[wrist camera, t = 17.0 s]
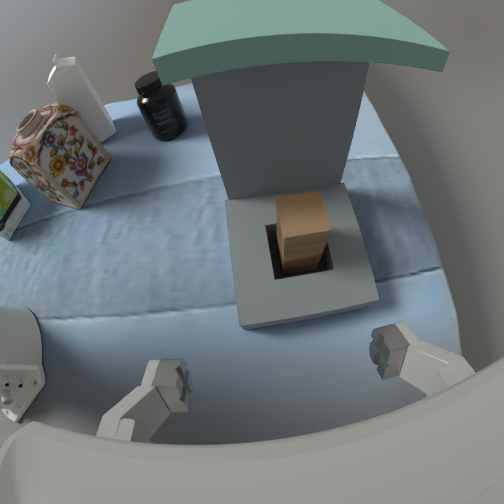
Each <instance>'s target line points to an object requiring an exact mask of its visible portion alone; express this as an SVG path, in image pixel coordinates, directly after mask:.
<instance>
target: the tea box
mask: <svg viewBox="0 0 504 504" xmlns="http://www.w3.org/2000/svg"><path fill="white" fill-rule="evenodd" d="M30 206H31V205H30V203H29V202H28V200H27V199H26V198H25V196H24V195H23V194H22V193H21V191H20V190H19V189H18V187H17V186H16V185H15V184H14V183H13V182H12V181H11V180H10V179H9V178H8V177H7V176H6V175H5V174H4V173H3V172H1V171H0V235H1V236H2V237H4V238H5V239H7V240H8V241H9V240H10V238H11V236H12V235H13V233H14V232H15V230H16V228H17V227H18V225H19V223H20V222H21V220H22V219H23V217H24V215H25V214H26V212H27V211H28V209H29V208H30Z"/></svg>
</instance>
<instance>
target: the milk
mask: <svg viewBox="0 0 504 504" xmlns="http://www.w3.org/2000/svg"><path fill="white" fill-rule="evenodd" d="M53 63H54V65H55V66H54V68H53V70H52V71H51V73H50V75H49V79H48V83H47V85H48V87H49V88H50V90H51V91H52V93H53V94H54V95H55V97H56V98H57V100H58V101H59V103H61V104H63V105H66V106H69V107H71V108H73V109H75V110H77V111H78V112H79V113H80V115H81V116H82V118H83V119H84V120H85V122H86V123H87V125H88V126H89V127H90V129H91V130H92V131H93V133H94V134H95V135H96V137H97V138H98V140H99V141H100V143H101V142H103V141H104V140H106V139H108V138H109V137H111V136H112V135H114V134H115V133H116V131H115V127H114V124H113V120H112V118H111V117H110V115H109V114H108V112H107V110H106V109H105V107H104V105H103V104H102V102H101V100H100V98H99V97H98V95H97V93H96V92H95V90H94V88H93V87H92V85H91V83H90V81H89V80H88V78H87V76H86V75H85V73H84V71H83V69H82V67H81V65H80V64H79V62H78V60H77V58H76V57H69V58H62V59H59V58H58V56H57V55H56V54H55V57H54V60H53Z"/></svg>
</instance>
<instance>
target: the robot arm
mask: <svg viewBox="0 0 504 504" xmlns="http://www.w3.org/2000/svg"><path fill="white" fill-rule="evenodd" d="M371 337H372V338H373V341H372V342H371V343H370V347H369V352H370V357H371V360H372V362H373V363H374V364H376V365H378V367H377V371H378V373H379V375H380V377H381V379H382V380H385V379H389V378H392V377H395V376H398V375H399V377H401V378H403V379H404V380H406V381H407V382H409V383H410V384H412V385H413V386H415V387H417V388H418V389H420V390H421V391H423V392H424V393H426V394H427V396H426V398H424V399H422V400H419V401H417V402H414V403H412V404H409V405H407V406H404V407H402V408H399V409H396V410H393V411H391V412H388V413H385V414H382V415H379V416H376V417H373V418H370V419H366V420H363V421H360V422H356V423H353V424H349V425H345V426H341V427H338V428H333V429H329V430H325V431H320V432H316V433H311V434H306V435H300V436H295V437H289V438H282V439H275V440H267V441H259V442H248V443H236V444H218V445H173V444H155V443H152V442H151V441H150V440H149V439H150V438H151V437H152V436H153V434H154V433H155V432H156V431H157V430H158V428H159V427H160V426H161V425H162V423H163V422H164V421H165V420H166V419H167V417H168V416H169V415H170V414H171V413H170V412H189V409H190V401H191V400H190V397H189V394H190V393H191V392H192V379H191V375H190V373H189V371H187V370H186V363H185V361H184V359H161V360H150V361H149V362H148V365H147V368H146V371H145V374H144V377H143V380H142V383H141V386H137V387H136V388H135V389H134V390H133V391H131V392H130V393H129V394H128V395H127V396H126V397H124V398H123V399H122V400H121V401H120V402H118V403H117V404H116V405H115V406H114V407H112V408H111V409H110V410H109V411H108V412H106V413H105V414H104V415H103V417H102V420H101V422H100V425H99V428H98V431H97V434H96V436H93V435H88V434H83V433H79V432H74V431H70V430H66V429H62V428H58V427H54V426H51V425H47V424H44V423H41V422H37V421H32V422H30V423H28V424H26V425H24V426H23V427H21V428H20V429H18V430H17V431H15V432H14V433H12V434H11V435H10V436H9V437H8V438H7V439H6V441H5V442H4V444H3V446H2V447H1V449H0V504H504V356H502V357H501V358H499V359H498V360H496V361H495V362H493V363H491V364H490V365H488V366H487V367H485V368H483V369H482V370H480V371H478V372H476V373H475V371H474V370H473V369H472V368H471V366H470V365H469V364H468V363H467V361H466V360H465V359H464V358H463V357H462V356H459V355H457V354H454V353H452V352H449V351H447V350H444V349H442V348H439V347H437V346H434V345H432V344H430V343H427V342H425V341H421V342H420V340H419V339H418V338H417V337H416V335H415V334H414V333H413V331H412V330H411V329H410V328H409V327H408V325H407V324H406V323H405V322H404V321H400V322H397V323H393V324H390V325H386V326H383V327H379V328H375V329H373V331H372V334H371ZM44 385H45V374H44V370H43V366H42V342H41V335H40V330H39V326H38V323H37V321H36V319H35V317H34V315H33V314H32V312H31V311H30V310H29V309H28V308H26V307H23V306H18V307H9V306H1V305H0V409H2V411H3V412H4V413H5V414H6V416H7V417H8V418H9V419H11V420H12V421H14V422H18V421H19V420H20V418H21V417H22V416H23V414H24V413H25V411H26V410H27V408H28V407H29V406H30V404H31V403H32V401H33V400H34V399H35V397H36V396H37V395H38V393H39V392H40V391H41V389H42V388H43V387H44Z"/></svg>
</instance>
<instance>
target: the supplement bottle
mask: <svg viewBox="0 0 504 504" xmlns="http://www.w3.org/2000/svg"><path fill="white" fill-rule="evenodd" d="M135 87H136V90H137V93H138V95H139V96H138V98H137V105H138V108H139V110H140V112H141V114H142V115H143V117H144V119H145V121H146V123H147V125H148V127H149V129H150V131H151V133H152V134H153V136H154V137H155V138H156V139H157V140H161V141H167V140H171V139H174V138H176V137H177V136H179V135H180V134H182V133H183V132H184V130H185V129H186V127H187V118H186V115H185V113H184V110H183V107H182V105H181V102H180V100H179V97H178V94H177V92H176V89H175V87H174V86H173V85H172V84H171V83H170V84H167V85H163V86H162V83H161V81H160V78H159V76H158V73H157V71H154V72H151V73H148V74H146V75H144V76H142V77H141V78H139V79H138V80H137V81H136V83H135Z"/></svg>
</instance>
